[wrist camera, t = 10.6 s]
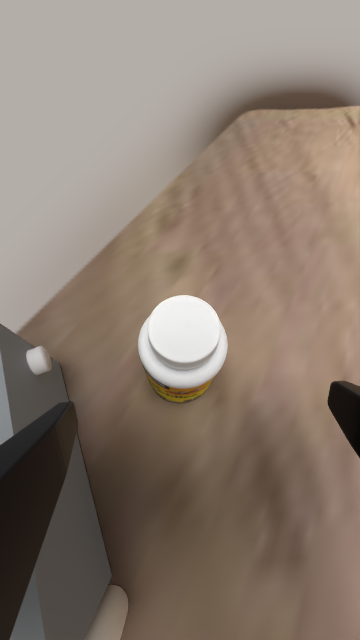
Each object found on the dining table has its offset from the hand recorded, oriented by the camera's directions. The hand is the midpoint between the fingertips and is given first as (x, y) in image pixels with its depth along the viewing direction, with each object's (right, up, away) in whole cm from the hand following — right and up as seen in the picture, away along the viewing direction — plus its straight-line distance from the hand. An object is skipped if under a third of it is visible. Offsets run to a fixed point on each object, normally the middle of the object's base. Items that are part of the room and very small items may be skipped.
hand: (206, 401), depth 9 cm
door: (-9, -8, +11) cm, 16 cm away
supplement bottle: (-1, -2, +14) cm, 14 cm away
